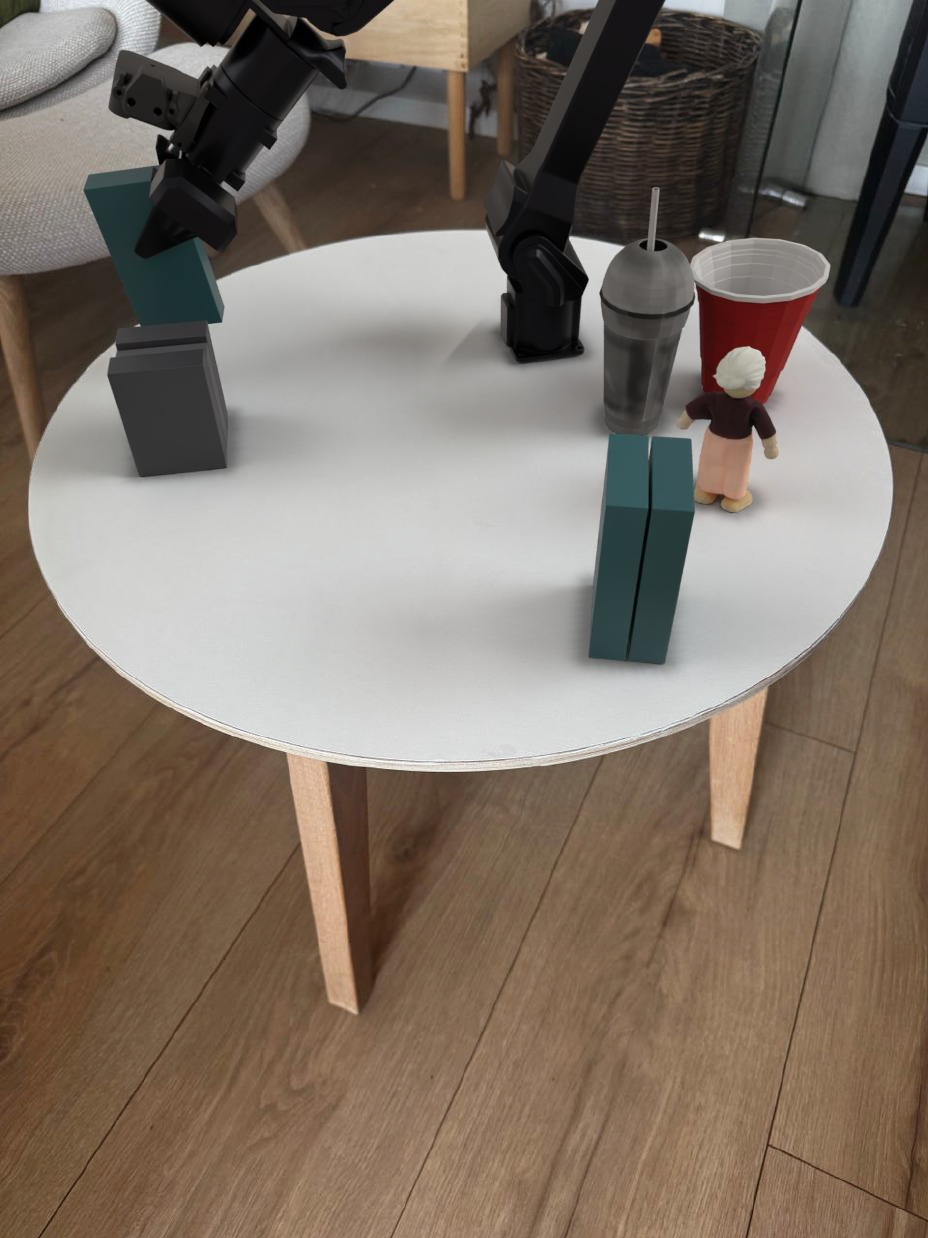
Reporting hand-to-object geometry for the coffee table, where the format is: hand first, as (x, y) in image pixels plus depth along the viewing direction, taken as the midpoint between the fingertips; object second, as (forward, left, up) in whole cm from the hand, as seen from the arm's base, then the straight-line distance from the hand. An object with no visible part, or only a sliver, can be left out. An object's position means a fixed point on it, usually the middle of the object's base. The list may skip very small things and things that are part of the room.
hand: (140, 246), depth 81 cm
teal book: (-2, 0, -7) cm, 7 cm away
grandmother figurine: (-41, +27, -12) cm, 51 cm away
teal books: (-30, +39, -12) cm, 50 cm away
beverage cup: (-38, +16, -12) cm, 43 cm away
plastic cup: (-48, +14, -12) cm, 51 cm away
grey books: (-1, +11, -12) cm, 16 cm away
